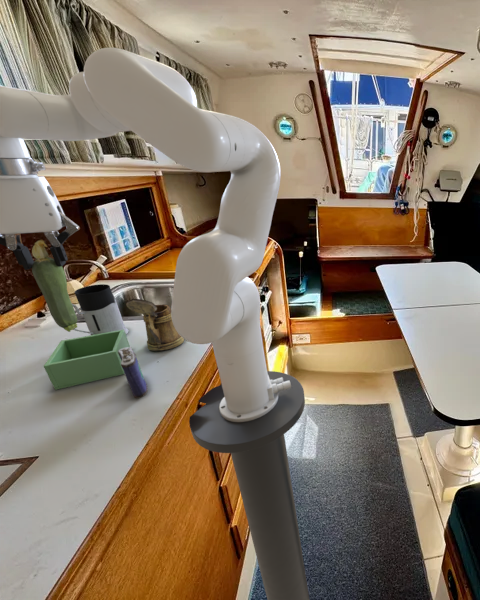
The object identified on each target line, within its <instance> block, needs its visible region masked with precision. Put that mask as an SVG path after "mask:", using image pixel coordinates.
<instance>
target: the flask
mask: <svg viewBox="0 0 480 600" xmlns="http://www.w3.org/2000/svg"><path fill="white" fill-rule="evenodd" d="M118 354H119V356H120V358H121V361H122V362H121V366H122V368H123V370H124V375H125V377H126V382H127V383H128V385H129V387H130V390H131V392H132V395H133V398H136V399H139V398H142V397H144V396H146V395H147V393H148V384H147V382H146V380H145V378H144V374H143V372H142V369H141V367H140V364H139V361H138V358H137V355H136V353H135V351H134V350H133V349H132V346H130V347H125V348H122V349H120V350H119V351H118Z"/></svg>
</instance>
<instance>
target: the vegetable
mask: <svg viewBox="0 0 480 600" xmlns="http://www.w3.org/2000/svg"><path fill="white" fill-rule="evenodd" d="M46 248H48V244H46V242H45V240H43V239H38V240H37V241H36V242H34V245H33V246H32V249H31V255H32V257H34V258H35V260H33V261H34V263H33V265H32V268H31V272H32V275H33V277H34V280H35V281H36V284H37V286H38V288H39V290H40V291H41V293H42V296H43V298H44V301H45V303H46V306H47V308H48V311H49V314H50V316H51V318H52V319H53V321H54V322H55V324H56V325H57V326H58V327H60V328H62V329H63V330H65V331H66V332H68V333H71V331H74V330H73V329H77V328H78V323H77V322H78V316H77V314H76V313H77V312H76V310H75V308H74V307H73V305H72V304H73V303H72V300H71V298H70V295H69V293H68V281H67V277H66V272H65V270H64V267H63V266H60V267H59V266H57V265H56V263H55V260H54V258H52V257H50V256H49V253H48V252H47V249H46Z"/></svg>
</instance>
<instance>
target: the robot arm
mask: <svg viewBox="0 0 480 600" xmlns="http://www.w3.org/2000/svg"><path fill="white" fill-rule="evenodd" d="M68 91H69V94H50V93H47V92H41V91H36V90H29V89H24V88H20V87H19V88H18V87H17V88H16V87H11V86H6V85H0V245H1V246H3V247H5V248H7V249H8V250H10V251H12V252H13V255H14V257H15V260H16V262H17V263H18V265H19V266H22V267H23V270H25V271H27V270H32V265H33V263H34V261H35V260H34V259H33V255H32V253H31V252H30V249H29V247H27V245H24V244H23V242H22V236H21V234H33V233H34V234H35V233H43V234H44V236H45V237H46V239H47V240H48V242H49V243H50V247H49V251H50V254H51V256H52V257H53V258H52V259H54V260H55V263H56V265H57V266H59V267H60V266H62V267H63V266H65V264H66V263H67V261H68V255H67V252H66V250H65V248H64V246H63V244H64V243H65V242H66V240H67V239H69V238H70V237H71V236H72V235H73V234H75V233H77V232H78V231H79V230H80V229H81V227H80V225H78V224H77V223H75V222H74V221H73V220H71V219H70V218H69V217H68V216H66V214H65V211H64V210H63V207H62V205H61V204H60V201H59V200H58V198H57V196H56V194H55V192H54V190H53V188H52V187H51V185H50V183H49V182H48V180H47V179H46V177H45V176H39V175H38V174H39V172H41V171H46V169H47V168H46V166H45V164H44V163H43V162H38V161H35V160H34V159H33V158H32V157H31V155H30V152H29V150H28V147H27V145H26V142H25V140H47V141H59V142H77V141H78V142H80V141H89V140H97V139H104V138H111V137H113V136H115V135H117V134H118V133H123V132H132V133H134V134H135V135H136V136H138V137H140V138H141V139H142V140H144V141H145V142H146V143H148V144H149V145H151V147H153V148H154V149H156V150H158V151H159V152H160V153H162V154H163V155H165V156H166V157H168V158H169V159H171V160H172V161H173V162H174V163H177V164H178V165H180V166H182V167H184V168H187V169H189V170H191V171H194V172H200V173H217V172H218V173H220V172H221V173H222V172H230V179H229V181H228V184H227V185H226V187H225V189H224V192H223V194H222V196H221V200H220V206H219V213H218V218H217V220H216V221H217V222H216V224H215V227H214V228H213V229H212V230H211V231H209V232H206V233H204V234H201V235H198V236H196V237H194V238H192V239H191V240H189V241H188V242H187V243H186V244H185V245H183V247H182V249H181V251H180V252H179V254H178V256H177V259H176V265H175V271H174V281H173V290H172V297H171V307H170V309H171V316H172V322H173V325H174V327H175V329H176V331H177V332H178V333H179V335H180V336H181V337H183V338H184V341H187V342H188V343H190V344H195V345H207V344H208V345H209V344H211V345H212V349H213V353H214V358H215V362H216V366H217V371H218V375H219V379H220V383H221V384H220V385H222V388H223V392H224V396H225V397H224V398H223V399H222V400H221V402H220V406H219V409H220V413H221V416H222V417H223V418H225V419H226V420H229V421H232V422H246V421H251V420H254V419H257V418H259V417H261V416H263V415H265V414H266V413H268V412H269V411H270V410H271V409H273V408H274V406H275V405H276V403H277V401H278V391H282V390H286V389H289V388H291V383H290V381H285V382H283V378H282V377H281V378H278V379H275V380H270V379H269V376H268V373H267V371H268V367H267V363H266V356H265V350H264V349H265V348H264V343H263V341H264V340H263V335H262V328H261V327H262V326H261V297H260V292H259V288H258V287H257V285H256V283H255V282H254V281H253V280H252V279H251V278H249V276H251V275H252V274H254V273H255V272H256V271H257V270H259V269H260V267H261V265H262V263H263V262H264V257H265V252H266V247H267V244H268V239H269V234H270V231H271V226H272V220H273V215H274V211H275V207H276V203H277V199H278V195H279V190H280V185H281V165H280V161H279V158H278V157H279V156H278V155H277V152H276V150H275V148H274V146H273V144H272V143H271V141H270V140H269V139H268V137H267V136H266V135H265V134H264V133H263V131H261V130H260V129H259V128H258V127H257V126H256V125H254V124H253V123H251V122H249V121H248V120H245V119H243V118H241V117H238V116H234V115H231V114H227V113H223V112H217V111H213V110H207V109H204V108H199V107H198V106H197V103H198V101H197V97H196V93H195V91H194V88H193V87H192V85H191V84H190V83H189V81H188V80H187V79H186V77H184V75H182V74H181V73H180V72H178V71H177V70H176V69H174V68H173V67H171V66H169V65H168V64H165V63H162V62H160V61H157V60H155V59H152V58H148V57H147V56H143V55H141V54H138V53H135V52H132V51H129V50H126V49H123V48H118V47H103V48H102V47H101V48H99V49H96V50H94V51H93V52H92V53H91V54H90V55H89V56H88V57H87V58H86V60H85V62H84V65H83V71H80V72H77V73H75V74H73V76H71V78H70V80H69V84H68ZM64 227H66V229H65V230H63V231H61V232H60V233H59V230H61V229H62V228H64Z"/></svg>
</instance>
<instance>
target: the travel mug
mask: <svg viewBox="0 0 480 600" xmlns="http://www.w3.org/2000/svg"><path fill="white" fill-rule="evenodd" d="M74 295H75V297H76V299H77V302H78V305H79V307H80V310H79V308H78V306H77V305H76V304H74V303H72V305H73V308H74V310H75V313H77V314H78V315H82V316H83V319H84V322H85V324H86V326H87V329H88V331H86V330H81V329H77V328H75V329H73V330H72V331H75V332H80V333H85V334H90V335H96V334H101V333H107V332H113V331H118V330H124V331H125V334H126V335H127V334H128V333H129V329H128V328H127V327H126V325H125V323H124V320H123V317H122V314H121V312H120V309H119V306H118V303H117V300H116V298H115V295H114V294H113V292H112V289H111V286H110V285H109V284H105V283H103V284H92V285H87V286H83V287H80V288H78V289H75V290H74Z"/></svg>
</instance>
